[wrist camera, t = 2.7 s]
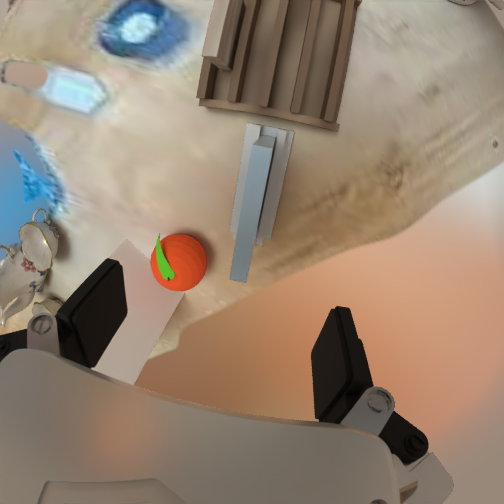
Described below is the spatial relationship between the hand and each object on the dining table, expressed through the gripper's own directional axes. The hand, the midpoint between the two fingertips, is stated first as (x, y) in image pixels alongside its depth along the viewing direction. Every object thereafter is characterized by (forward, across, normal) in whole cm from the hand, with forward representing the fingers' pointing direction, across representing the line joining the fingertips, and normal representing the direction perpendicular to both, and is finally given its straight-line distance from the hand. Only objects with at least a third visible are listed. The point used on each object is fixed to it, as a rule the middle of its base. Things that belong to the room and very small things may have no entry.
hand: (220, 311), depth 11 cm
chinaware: (+22, +38, +21) cm, 48 cm away
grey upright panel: (+21, 0, 0) cm, 21 cm away
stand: (+22, 0, 0) cm, 22 cm away
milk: (+22, +16, +19) cm, 33 cm away
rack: (+21, 0, -16) cm, 27 cm away
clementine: (+22, +8, +10) cm, 25 cm away
